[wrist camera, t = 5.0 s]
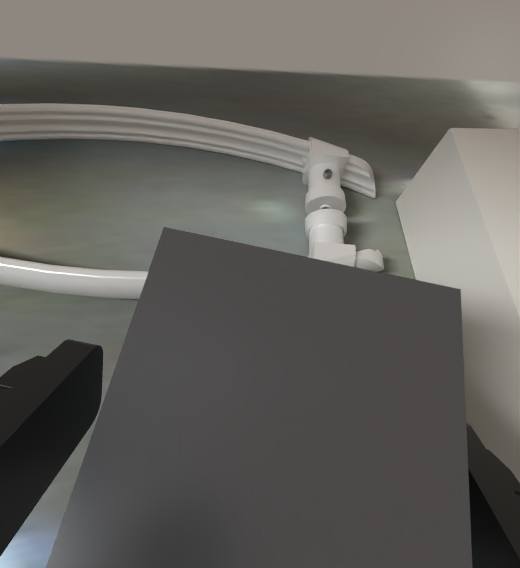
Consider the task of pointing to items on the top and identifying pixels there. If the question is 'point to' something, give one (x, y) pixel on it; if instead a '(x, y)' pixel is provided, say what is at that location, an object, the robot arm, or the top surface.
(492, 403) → the door edge
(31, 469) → the robot arm
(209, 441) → the block
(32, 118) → the door handle
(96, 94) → the top surface
